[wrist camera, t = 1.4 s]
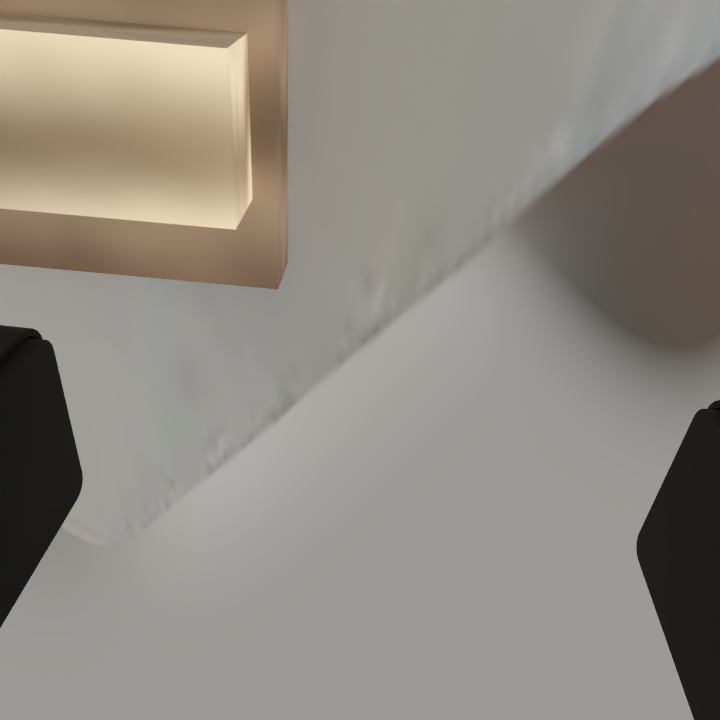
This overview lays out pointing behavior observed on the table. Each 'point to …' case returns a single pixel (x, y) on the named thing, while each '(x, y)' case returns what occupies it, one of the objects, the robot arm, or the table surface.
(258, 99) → the plate
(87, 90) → the maple tile
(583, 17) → the table surface
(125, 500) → the table surface
